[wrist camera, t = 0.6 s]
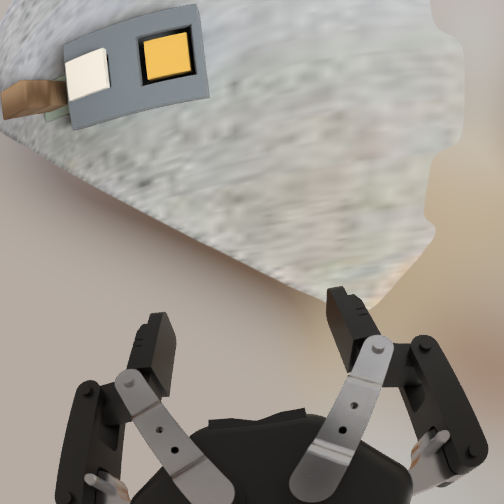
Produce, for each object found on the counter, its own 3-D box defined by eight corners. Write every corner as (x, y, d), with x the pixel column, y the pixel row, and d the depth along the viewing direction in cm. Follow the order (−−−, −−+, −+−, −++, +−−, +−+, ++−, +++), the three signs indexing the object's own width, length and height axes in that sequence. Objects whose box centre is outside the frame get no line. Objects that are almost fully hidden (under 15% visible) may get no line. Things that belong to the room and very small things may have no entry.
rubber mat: (43, 85, 28) (41, 85, 27) (75, 70, 28) (73, 70, 27) (48, 122, 30) (46, 122, 30) (80, 109, 31) (78, 109, 30)
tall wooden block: (48, 90, 28) (0, 92, 18) (67, 81, 28) (20, 80, 18) (51, 111, 29) (3, 120, 20) (70, 103, 29) (23, 108, 20)
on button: (79, 65, 25) (65, 63, 22) (114, 52, 25) (102, 47, 22) (83, 100, 27) (69, 101, 24) (118, 88, 27) (106, 87, 24)
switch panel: (80, 50, 26) (62, 45, 22) (199, 15, 27) (196, 3, 22) (89, 126, 32) (72, 130, 28) (209, 97, 32) (207, 96, 28)
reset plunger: (148, 45, 26) (143, 41, 24) (188, 36, 26) (186, 32, 24) (152, 80, 29) (147, 79, 27) (192, 72, 29) (190, 70, 27)
